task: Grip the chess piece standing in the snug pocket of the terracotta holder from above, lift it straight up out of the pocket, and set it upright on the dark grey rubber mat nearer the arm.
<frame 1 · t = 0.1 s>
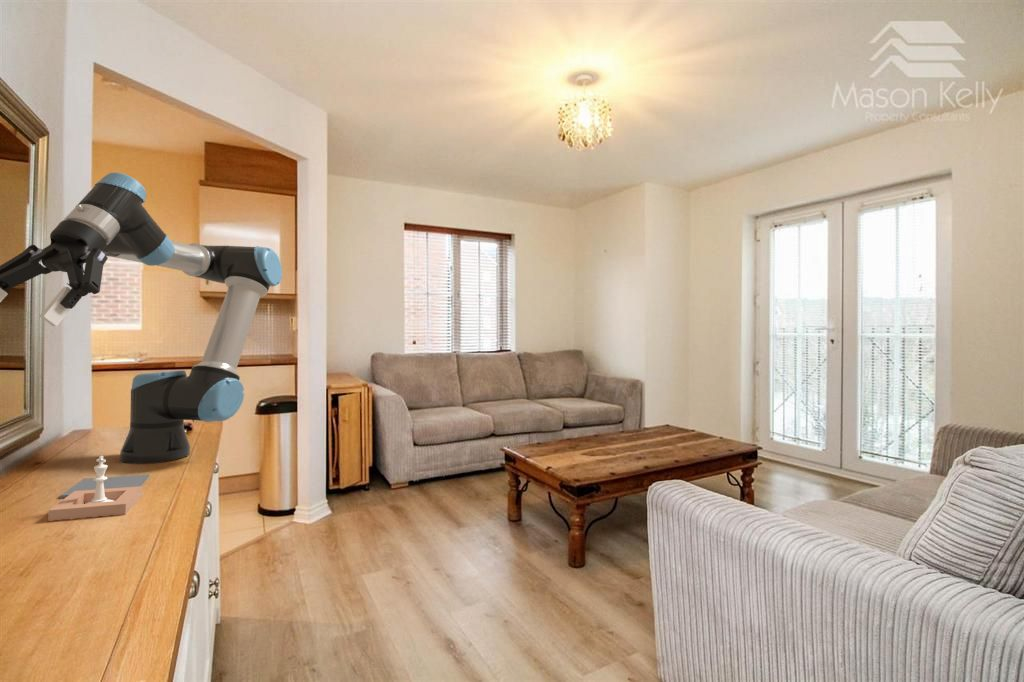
hand: (9, 319, 79), 36 cm above the sideboard, tool tilted 35°, fingers open, 13 cm apart
pocket holder: (99, 507, 91), on the sideboard
chess piece: (98, 508, 91), resting in pocket holder
mat: (108, 486, 103), on the sideboard
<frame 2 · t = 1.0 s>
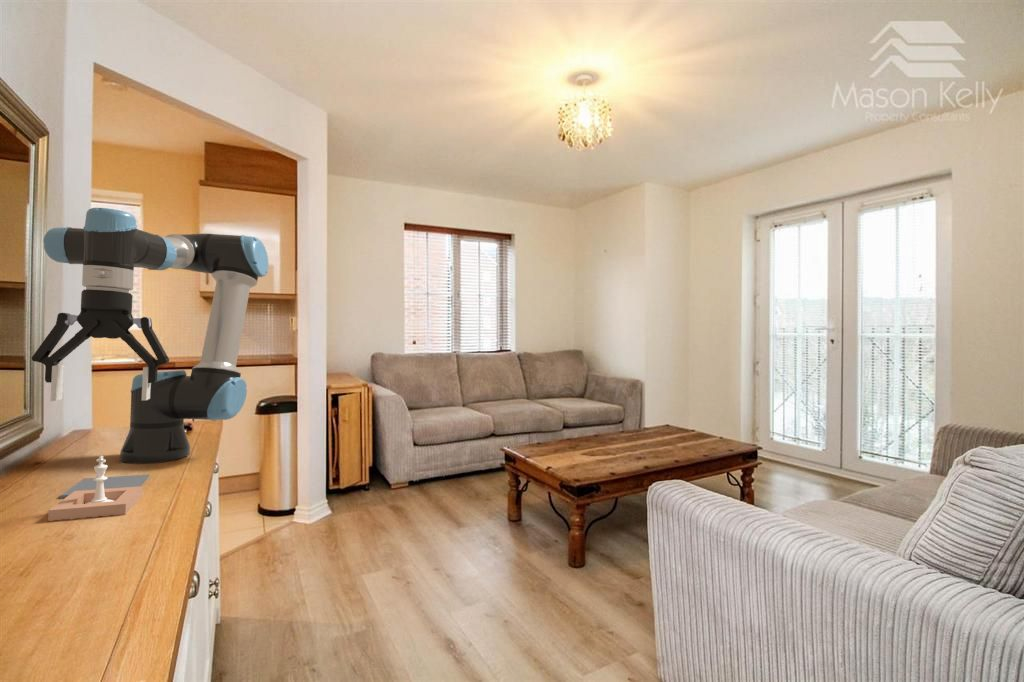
hand: (102, 400, 91), 21 cm above the sideboard, tool pointing down, fingers open, 13 cm apart
nothing on the sideboard moved.
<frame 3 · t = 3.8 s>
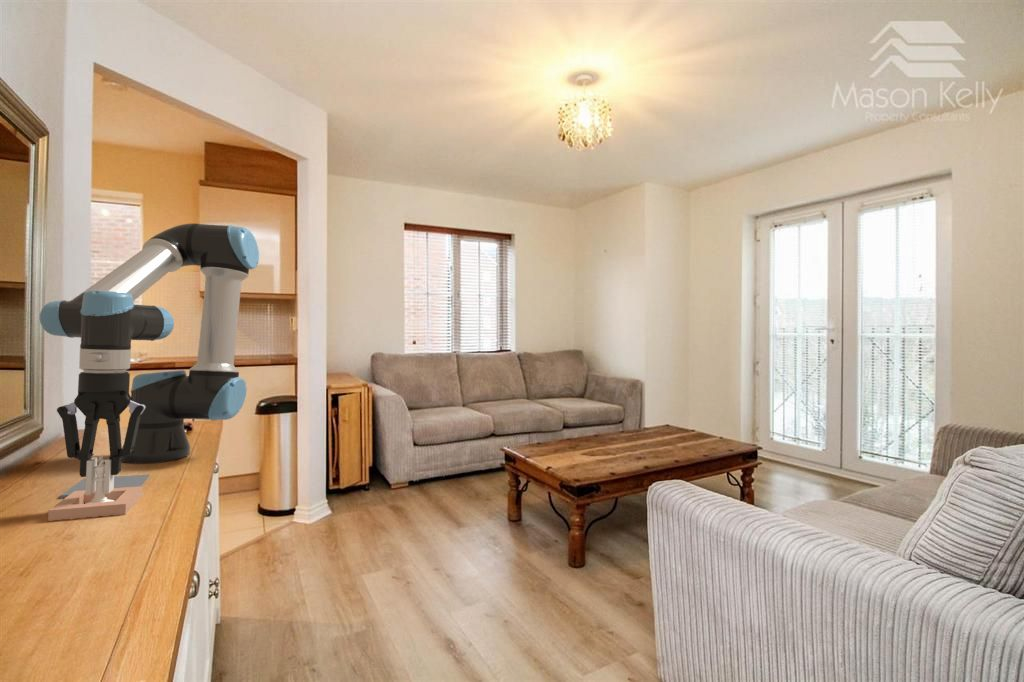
hand: (99, 492, 91), 3 cm above the sideboard, tool pointing down, fingers closed on chess piece, 2 cm apart
chess piece: (98, 508, 91), resting in pocket holder, touching gripper
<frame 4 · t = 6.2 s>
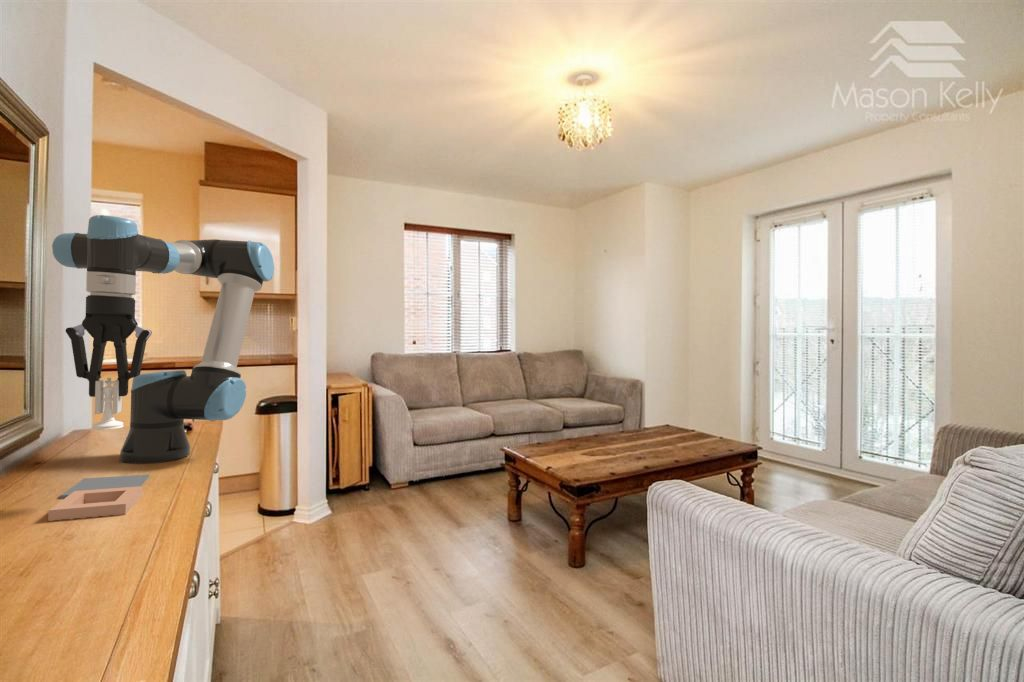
hand: (108, 412, 95), 18 cm above the sideboard, tool pointing down, fingers closed on chess piece, 2 cm apart
chess piece: (107, 428, 95), point 15 cm above the sideboard, touching gripper
when the fingers open (5 cm above the sideboard, at t = 8.9 s): chess piece drops 1 cm, resting on mat.
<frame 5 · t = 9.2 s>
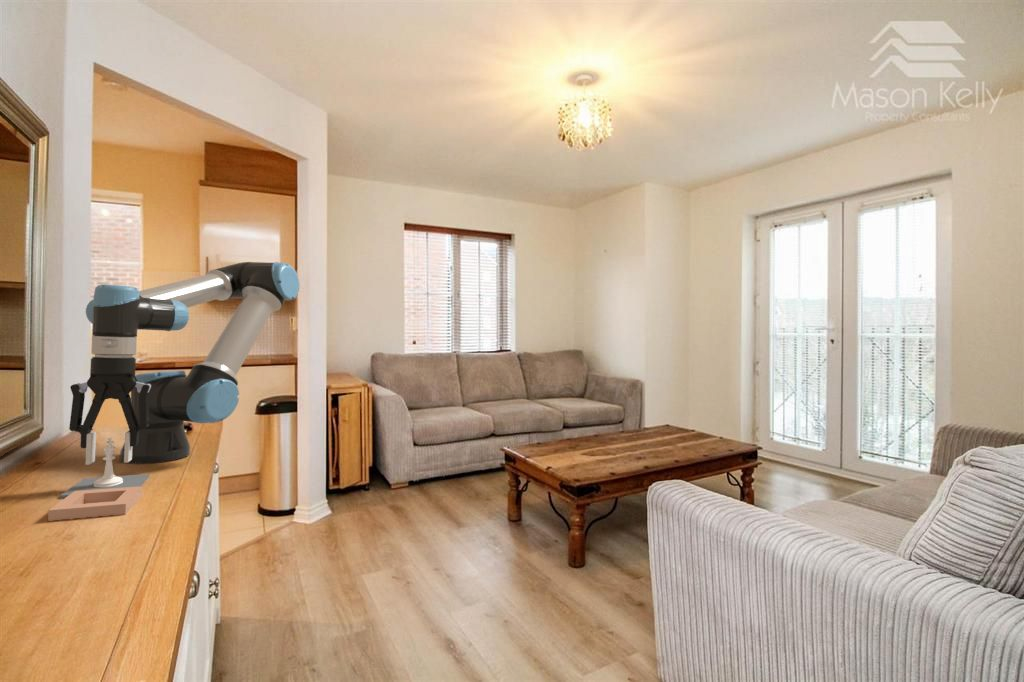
hand: (109, 461, 103), 5 cm above the sideboard, tool pointing down, fingers open, 6 cm apart
chess piece: (108, 484, 103), resting on mat
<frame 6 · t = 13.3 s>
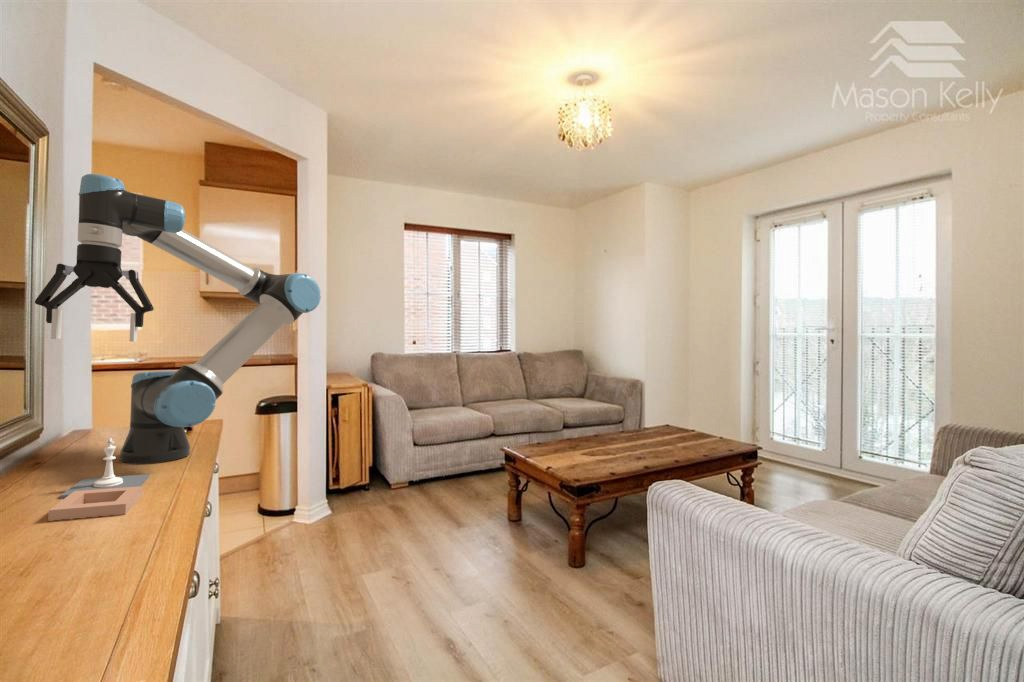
hand: (95, 340, 106), 32 cm above the sideboard, tool pointing down, fingers open, 13 cm apart
nothing on the sideboard moved.
at the end: chess piece inside the target area on the mat (0.0 cm from its centre), point 0.4 cm above the mat's base; chess piece tilted 0°; the gripper is holding nothing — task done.
